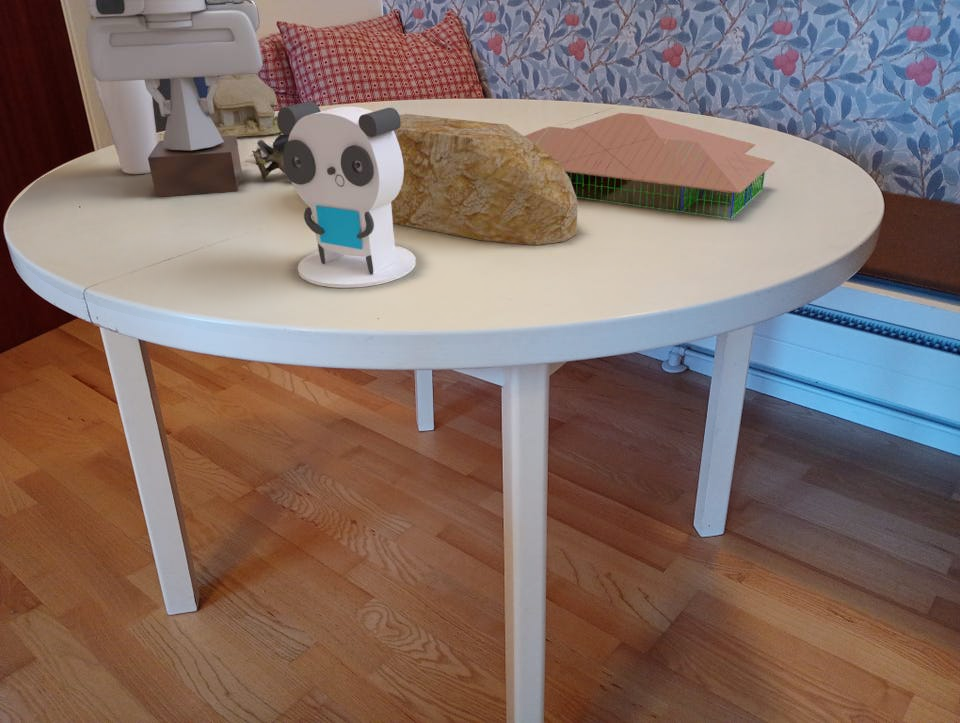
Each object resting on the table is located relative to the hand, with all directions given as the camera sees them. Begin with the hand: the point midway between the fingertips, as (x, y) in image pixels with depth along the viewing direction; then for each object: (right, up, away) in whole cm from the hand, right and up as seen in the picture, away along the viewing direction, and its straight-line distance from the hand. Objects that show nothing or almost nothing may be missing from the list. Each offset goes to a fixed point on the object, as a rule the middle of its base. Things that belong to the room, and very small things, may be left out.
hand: (188, 114), depth 104 cm
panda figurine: (+25, -22, -24) cm, 41 cm away
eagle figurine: (+12, -7, +5) cm, 15 cm away
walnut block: (0, -8, +4) cm, 9 cm away
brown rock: (+32, -14, -10) cm, 36 cm away
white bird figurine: (+7, -3, +14) cm, 16 cm away
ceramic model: (-2, +7, +33) cm, 34 cm away
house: (+57, -8, +1) cm, 57 cm away
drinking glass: (-11, -5, +11) cm, 16 cm away
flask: (0, -4, +2) cm, 4 cm away
